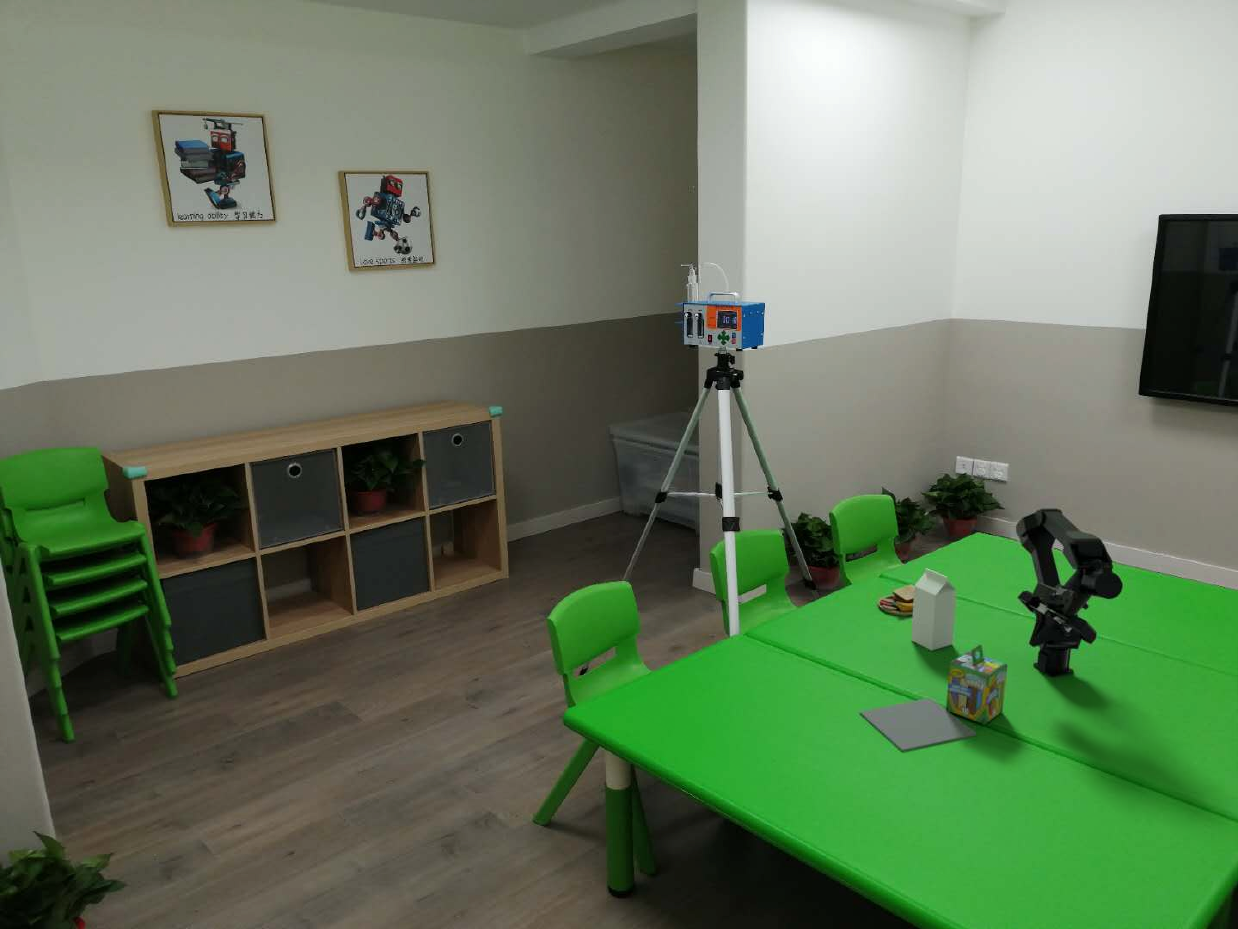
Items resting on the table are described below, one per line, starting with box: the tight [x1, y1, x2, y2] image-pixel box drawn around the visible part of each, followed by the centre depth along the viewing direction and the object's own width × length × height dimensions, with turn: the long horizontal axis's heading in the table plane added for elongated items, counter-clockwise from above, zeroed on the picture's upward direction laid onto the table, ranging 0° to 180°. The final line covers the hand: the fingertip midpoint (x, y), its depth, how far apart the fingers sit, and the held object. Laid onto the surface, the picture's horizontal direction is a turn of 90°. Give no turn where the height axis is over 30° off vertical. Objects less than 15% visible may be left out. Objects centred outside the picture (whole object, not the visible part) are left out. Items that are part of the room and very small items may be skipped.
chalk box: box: [945, 644, 1008, 725], centre depth 203 cm, size 9×9×15 cm
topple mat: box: [859, 697, 978, 752], centre depth 201 cm, size 18×16×1 cm
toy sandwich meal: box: [877, 584, 916, 617], centre depth 259 cm, size 12×14×5 cm
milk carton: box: [910, 568, 957, 652], centre depth 235 cm, size 7×7×19 cm
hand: (1031, 645), depth 205 cm, fingers closed
